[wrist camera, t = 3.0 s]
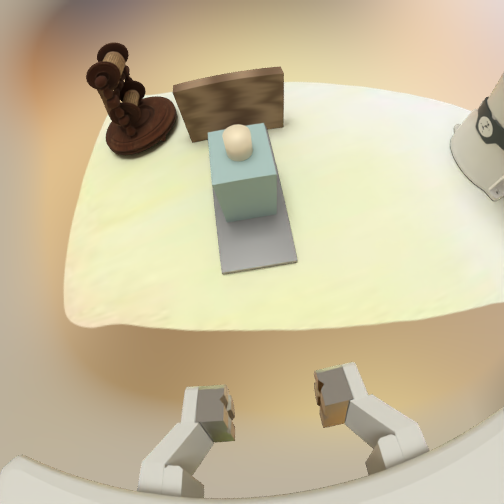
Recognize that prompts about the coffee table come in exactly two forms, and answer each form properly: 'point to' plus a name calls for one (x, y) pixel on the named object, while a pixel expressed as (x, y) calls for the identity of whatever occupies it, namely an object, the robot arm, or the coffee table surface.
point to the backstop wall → (231, 101)
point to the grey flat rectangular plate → (255, 238)
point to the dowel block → (243, 172)
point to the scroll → (128, 104)
